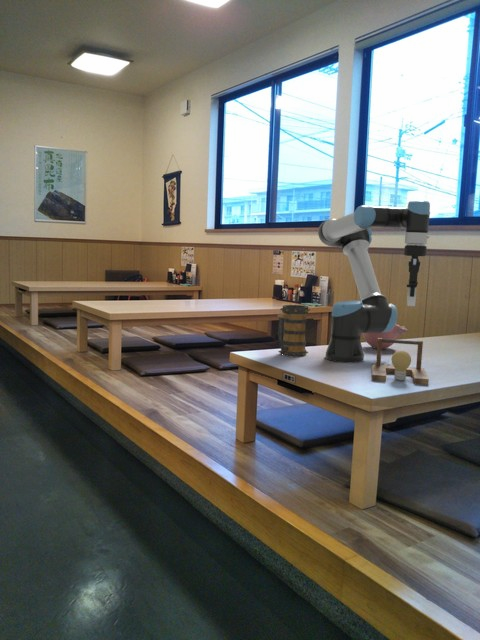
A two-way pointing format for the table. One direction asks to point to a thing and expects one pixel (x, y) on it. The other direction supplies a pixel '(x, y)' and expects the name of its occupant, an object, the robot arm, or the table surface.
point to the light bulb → (401, 364)
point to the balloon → (384, 336)
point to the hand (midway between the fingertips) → (410, 304)
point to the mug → (293, 330)
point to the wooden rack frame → (381, 370)
